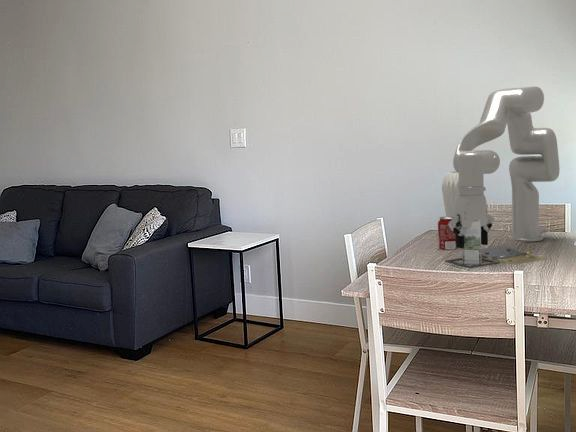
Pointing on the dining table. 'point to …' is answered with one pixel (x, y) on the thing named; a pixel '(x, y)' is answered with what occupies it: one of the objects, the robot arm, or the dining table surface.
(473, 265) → the gray rectangular frame
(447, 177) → the vase
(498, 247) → the gray hinge leaf
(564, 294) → the dining table surface
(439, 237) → the soda can
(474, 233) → the syrup box
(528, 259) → the fixed leaf
